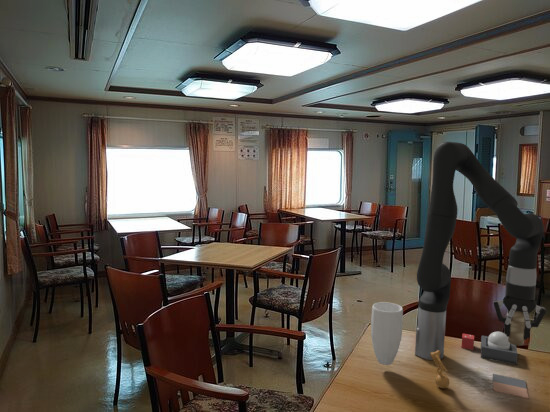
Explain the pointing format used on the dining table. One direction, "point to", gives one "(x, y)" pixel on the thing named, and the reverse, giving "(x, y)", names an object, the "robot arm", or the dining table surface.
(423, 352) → the robot arm
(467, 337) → the red die
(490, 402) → the dining table surface
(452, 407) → the dining table surface
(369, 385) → the dining table surface
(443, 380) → the figurine
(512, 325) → the wooden pawn
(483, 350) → the dark grey square tray
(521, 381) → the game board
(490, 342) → the white ball
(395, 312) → the cup
